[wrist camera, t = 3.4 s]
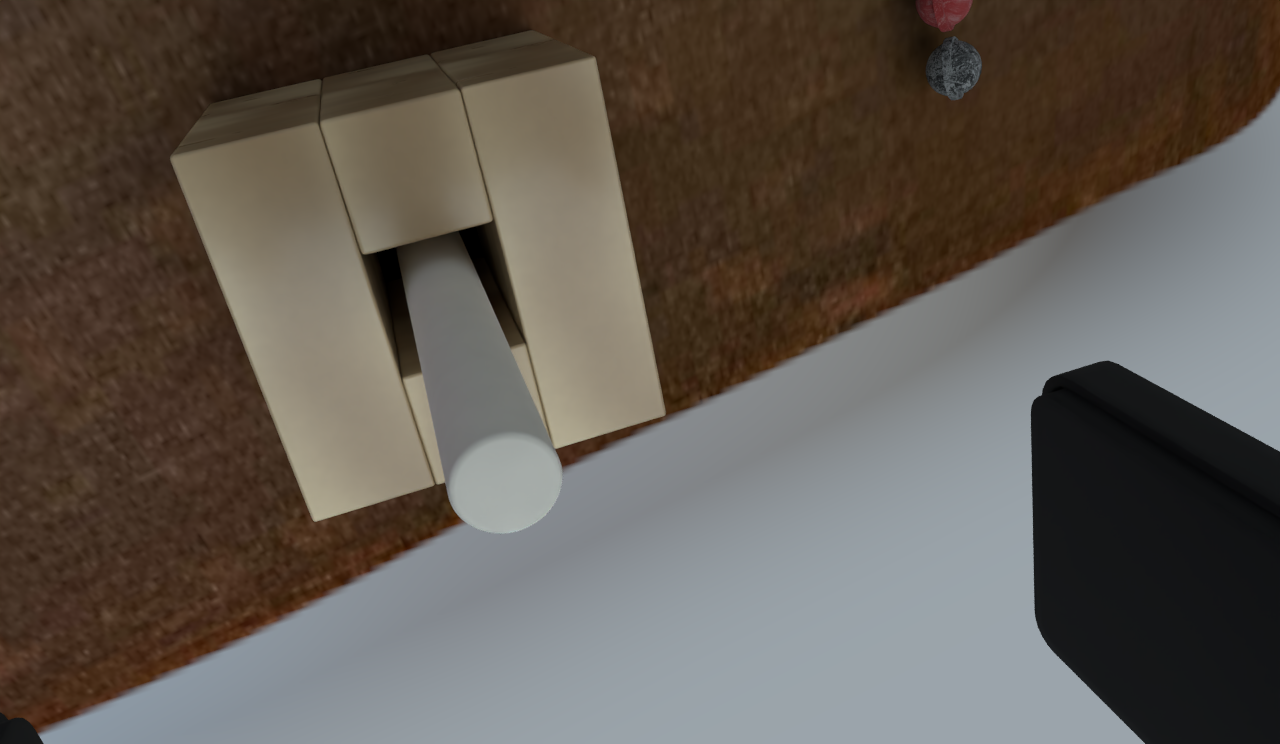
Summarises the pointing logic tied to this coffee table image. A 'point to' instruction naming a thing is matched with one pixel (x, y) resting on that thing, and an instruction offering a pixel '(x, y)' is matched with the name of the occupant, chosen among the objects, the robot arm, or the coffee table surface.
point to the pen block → (413, 211)
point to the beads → (950, 49)
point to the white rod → (476, 393)
